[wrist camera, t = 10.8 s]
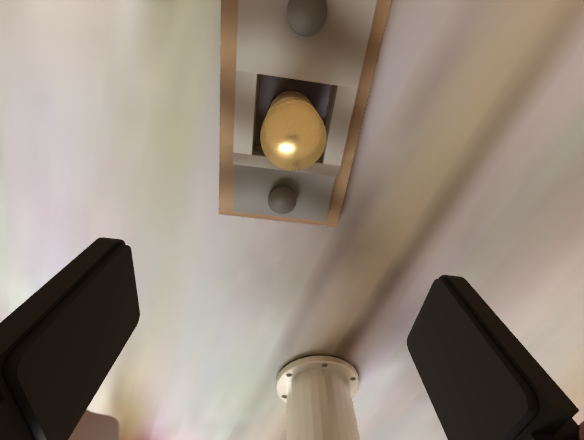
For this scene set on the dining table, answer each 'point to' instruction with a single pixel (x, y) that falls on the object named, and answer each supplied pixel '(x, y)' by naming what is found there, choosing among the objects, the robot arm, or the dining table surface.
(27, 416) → the robot arm
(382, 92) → the dining table surface
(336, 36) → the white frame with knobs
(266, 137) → the pin
